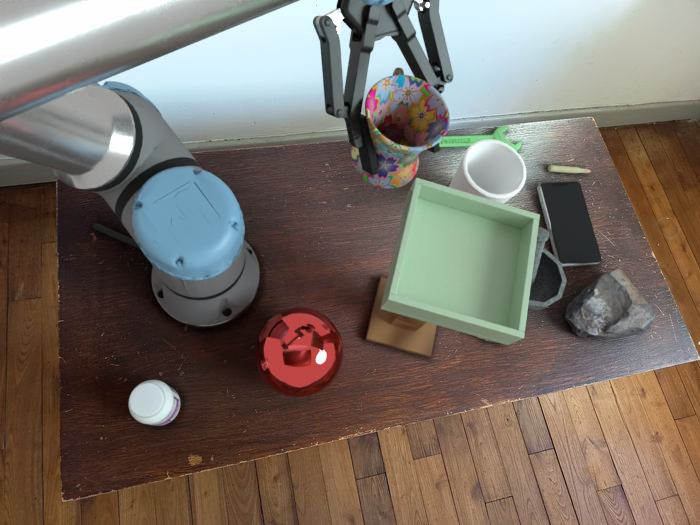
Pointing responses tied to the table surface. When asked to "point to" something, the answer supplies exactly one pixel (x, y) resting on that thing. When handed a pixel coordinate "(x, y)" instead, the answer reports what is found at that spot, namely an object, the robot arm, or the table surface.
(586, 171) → the bullet
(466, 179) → the cup
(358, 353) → the table surface
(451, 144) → the wrench
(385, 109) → the mug
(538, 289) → the mortar and pestle
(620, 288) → the rock
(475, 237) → the tray
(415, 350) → the stand
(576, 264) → the smartphone
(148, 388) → the pill bottle
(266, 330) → the ball
